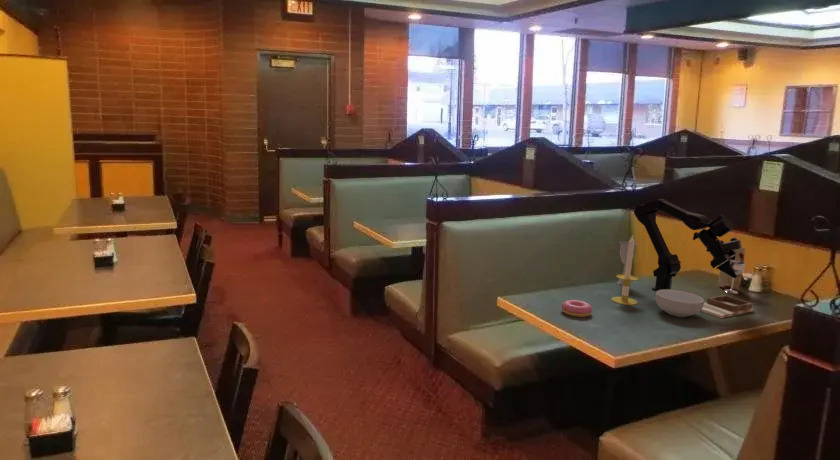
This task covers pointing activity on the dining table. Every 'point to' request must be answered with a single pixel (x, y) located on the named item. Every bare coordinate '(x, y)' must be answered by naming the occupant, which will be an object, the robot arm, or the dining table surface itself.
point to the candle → (627, 278)
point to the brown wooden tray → (726, 306)
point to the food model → (726, 279)
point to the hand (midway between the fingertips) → (737, 276)
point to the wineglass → (736, 271)
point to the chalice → (624, 256)
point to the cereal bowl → (679, 302)
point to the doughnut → (576, 308)
